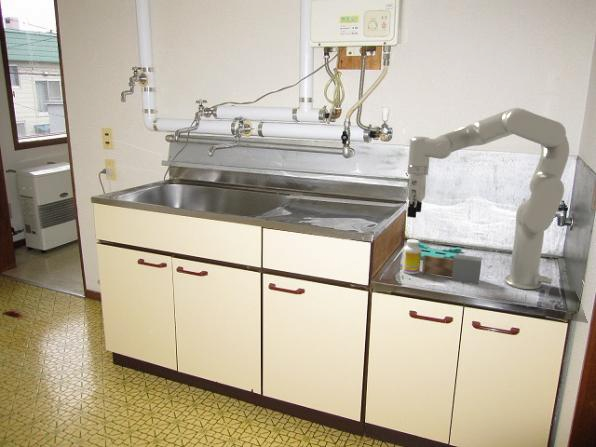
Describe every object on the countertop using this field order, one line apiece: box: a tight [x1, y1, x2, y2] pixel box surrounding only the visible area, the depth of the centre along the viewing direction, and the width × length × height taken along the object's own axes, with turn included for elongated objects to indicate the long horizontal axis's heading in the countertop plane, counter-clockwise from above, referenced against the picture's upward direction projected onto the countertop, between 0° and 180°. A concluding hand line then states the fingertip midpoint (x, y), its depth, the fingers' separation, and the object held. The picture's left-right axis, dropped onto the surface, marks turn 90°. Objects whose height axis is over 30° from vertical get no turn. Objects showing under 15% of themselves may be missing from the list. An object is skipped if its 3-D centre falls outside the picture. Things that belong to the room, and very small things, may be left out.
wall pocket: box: [451, 253, 483, 285], centre depth 184 cm, size 10×5×9 cm, turn 65°
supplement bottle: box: [402, 238, 421, 275], centre depth 191 cm, size 7×7×13 cm
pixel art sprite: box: [418, 241, 462, 261], centre depth 214 cm, size 20×2×20 cm
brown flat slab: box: [421, 255, 454, 278], centre depth 187 cm, size 14×1×7 cm, turn 65°
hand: (414, 214), depth 187 cm, fingers open, 9 cm apart
